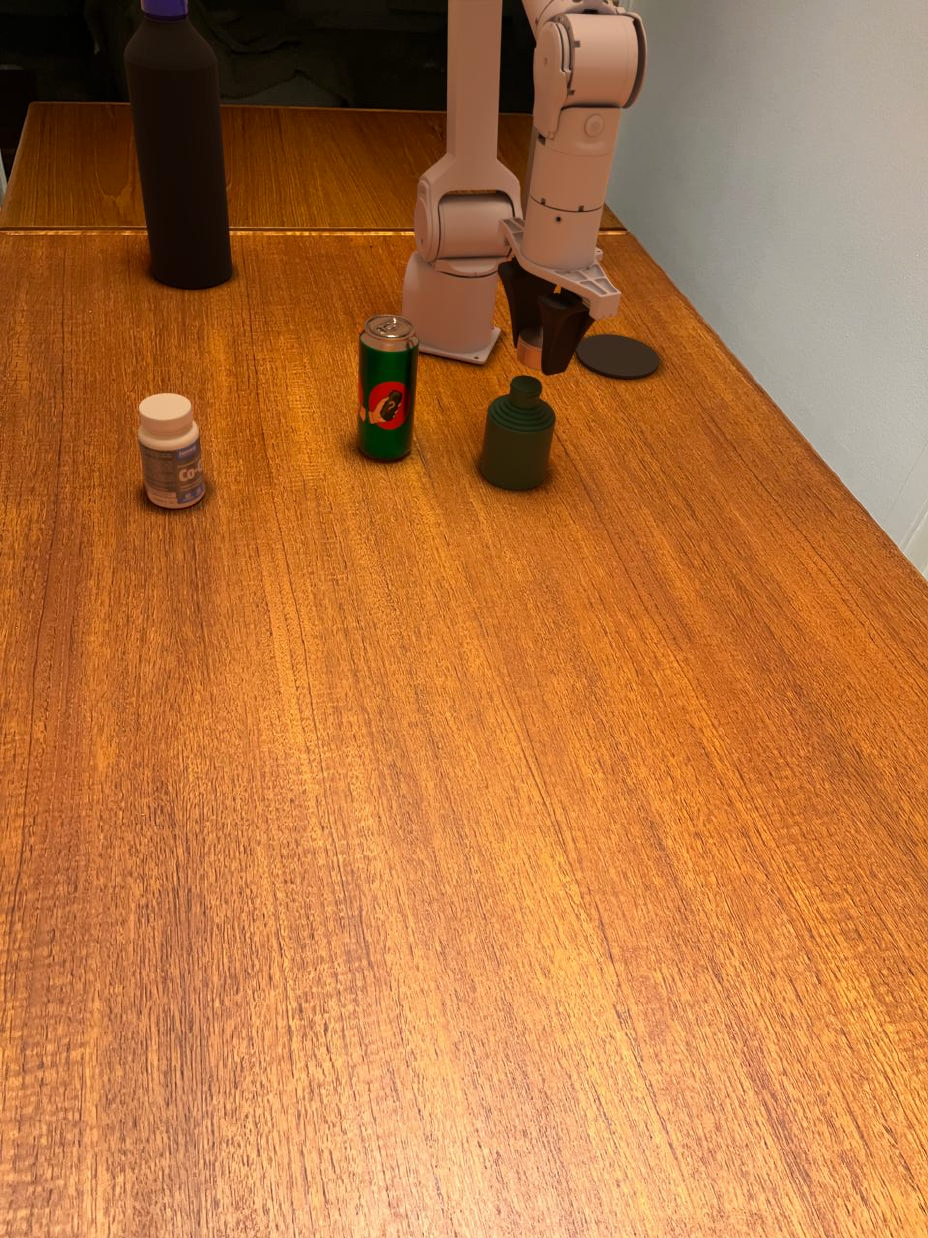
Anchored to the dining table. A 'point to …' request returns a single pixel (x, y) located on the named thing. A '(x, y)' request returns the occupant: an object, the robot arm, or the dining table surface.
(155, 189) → the bottle
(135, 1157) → the dining table surface
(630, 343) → the coaster
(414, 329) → the soda can
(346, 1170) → the dining table surface
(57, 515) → the dining table surface
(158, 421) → the pill bottle
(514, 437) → the green bottle
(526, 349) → the cap
